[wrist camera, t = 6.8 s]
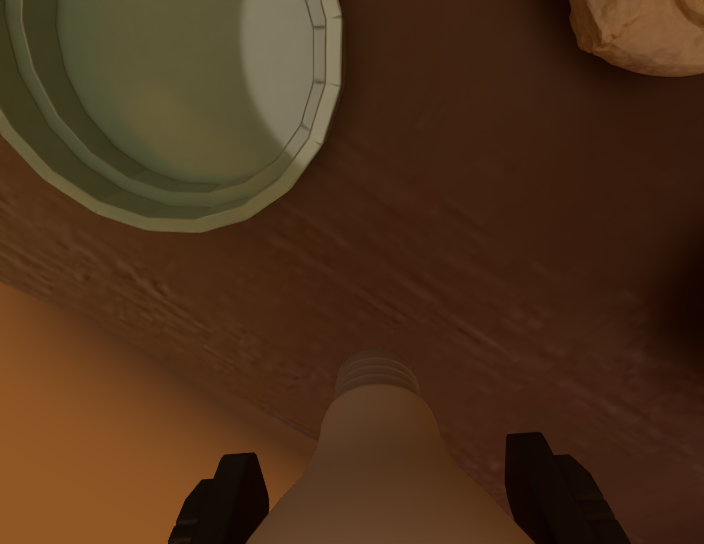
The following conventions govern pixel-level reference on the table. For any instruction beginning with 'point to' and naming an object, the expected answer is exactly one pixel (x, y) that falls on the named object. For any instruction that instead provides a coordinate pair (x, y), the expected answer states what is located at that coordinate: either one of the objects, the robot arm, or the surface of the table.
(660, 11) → the oil lamp
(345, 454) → the lightbulb
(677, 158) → the table surface
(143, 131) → the pan
